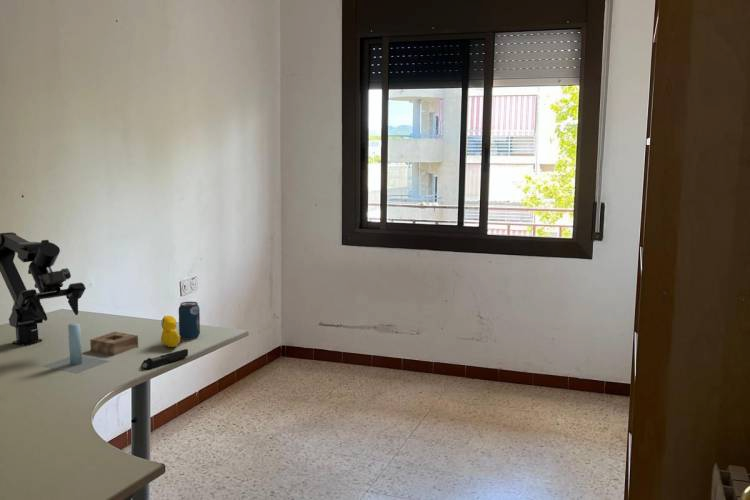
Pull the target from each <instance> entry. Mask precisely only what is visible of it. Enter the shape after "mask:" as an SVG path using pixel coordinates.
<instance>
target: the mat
mask: <svg viewBox="0 0 750 500" xmlns="http://www.w3.org/2000/svg"><path fill="white" fill-rule="evenodd" d="M109 362H110V360H104V359H100V358H95V357H91V356H84V355H82V364H80V365H70V356H67V357H65V358H62V359H59V360H56V361H52V362H50V363H47V364H44V365H42V367H43V368H49V369H54V370H58V371H63V372H68V373H72V374H79V373H80V374H81V373H82V372H85V371H87V370H91V369H93V368H95V367H99V366H101V365H104V364H107V363H109Z"/></svg>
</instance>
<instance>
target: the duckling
mask: <svg viewBox="0 0 750 500" xmlns="http://www.w3.org/2000/svg"><path fill="white" fill-rule="evenodd" d="M176 327H177V320H176V318H175V317H174V316H173V315H164V316H163V318H162V319H161V329H162V330H163V331H162V333H161V336H160V342H161V344H162V345H163V346H166V347H168V348H174V347H177V346H178V345H179V343H180V341H181V336H180V335H179V332H178V331H177V330H176Z"/></svg>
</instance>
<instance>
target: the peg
mask: <svg viewBox="0 0 750 500" xmlns="http://www.w3.org/2000/svg"><path fill="white" fill-rule="evenodd" d="M67 326H68V330H67V331H68V347H69V357H70V365H80V364H82V356H83V354H82V351H83V350H82V338H81V337H82V335H81V333H82V331H81V323H80V322H79V323H78V322H75V323H74V322H73V323H69V324H68V325H67Z"/></svg>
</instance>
